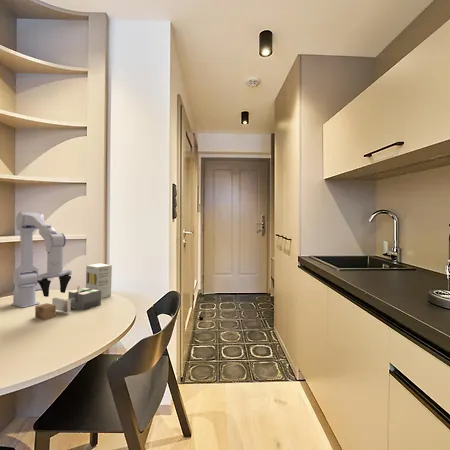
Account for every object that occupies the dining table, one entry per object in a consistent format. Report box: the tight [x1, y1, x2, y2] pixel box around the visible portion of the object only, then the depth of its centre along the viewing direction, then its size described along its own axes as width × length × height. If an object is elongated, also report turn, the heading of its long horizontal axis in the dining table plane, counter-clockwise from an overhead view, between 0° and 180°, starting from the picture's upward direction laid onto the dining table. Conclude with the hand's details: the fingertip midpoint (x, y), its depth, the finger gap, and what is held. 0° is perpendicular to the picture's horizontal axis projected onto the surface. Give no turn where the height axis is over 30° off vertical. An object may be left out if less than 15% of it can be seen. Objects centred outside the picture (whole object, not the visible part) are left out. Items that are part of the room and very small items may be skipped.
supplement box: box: [85, 262, 113, 299], centre depth 167 cm, size 10×9×17 cm
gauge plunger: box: [51, 285, 81, 313], centre depth 143 cm, size 11×10×9 cm
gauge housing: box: [67, 287, 102, 311], centre depth 150 cm, size 10×10×7 cm
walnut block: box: [34, 302, 57, 321], centre depth 133 cm, size 6×5×5 cm
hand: (54, 294), depth 133 cm, fingers open, 7 cm apart
